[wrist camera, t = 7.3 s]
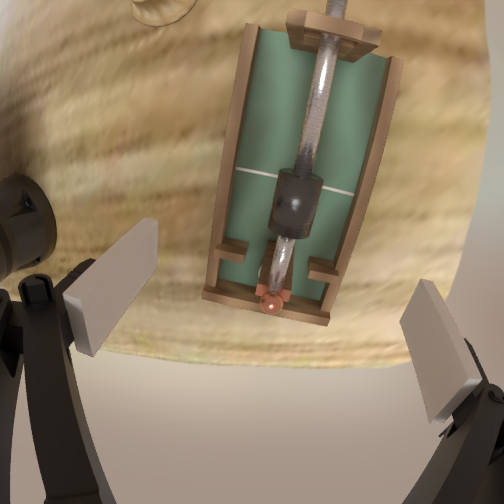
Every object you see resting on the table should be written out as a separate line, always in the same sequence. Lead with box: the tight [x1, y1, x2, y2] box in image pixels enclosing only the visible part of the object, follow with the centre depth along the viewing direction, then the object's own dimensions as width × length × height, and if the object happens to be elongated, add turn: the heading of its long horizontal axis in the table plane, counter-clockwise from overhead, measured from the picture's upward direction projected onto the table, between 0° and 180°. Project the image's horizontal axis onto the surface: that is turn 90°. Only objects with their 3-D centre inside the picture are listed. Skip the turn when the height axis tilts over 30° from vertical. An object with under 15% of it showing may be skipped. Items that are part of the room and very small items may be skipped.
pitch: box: [202, 8, 404, 326], centre depth 28 cm, size 15×30×12 cm, turn 170°
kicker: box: [255, 0, 348, 315], centre depth 24 cm, size 3×27×11 cm, turn 170°
